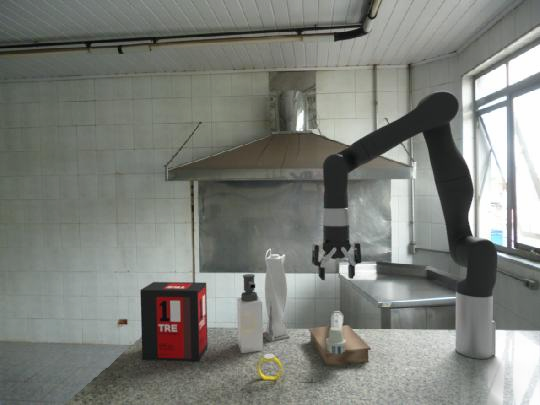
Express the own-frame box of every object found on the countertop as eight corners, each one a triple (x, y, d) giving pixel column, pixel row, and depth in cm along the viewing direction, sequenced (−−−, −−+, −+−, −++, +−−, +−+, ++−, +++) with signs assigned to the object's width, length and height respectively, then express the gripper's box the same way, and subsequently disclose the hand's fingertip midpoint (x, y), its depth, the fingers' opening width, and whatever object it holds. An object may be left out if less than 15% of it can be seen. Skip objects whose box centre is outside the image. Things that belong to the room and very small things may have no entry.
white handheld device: (345, 310, 119) (345, 328, 94) (345, 331, 118) (346, 354, 94) (328, 309, 120) (325, 327, 95) (329, 330, 119) (325, 353, 95)
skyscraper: (258, 332, 121) (257, 249, 120) (280, 328, 125) (279, 247, 124) (270, 342, 114) (269, 253, 113) (292, 337, 117) (291, 250, 116)
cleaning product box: (142, 359, 103) (140, 290, 102) (155, 346, 112) (153, 281, 111) (199, 361, 101) (197, 290, 101) (207, 347, 110) (206, 282, 110)
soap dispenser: (242, 356, 104) (241, 280, 103) (237, 344, 112) (236, 273, 112) (264, 353, 105) (263, 278, 105) (258, 341, 114) (257, 272, 113)
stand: (348, 337, 116) (348, 325, 116) (370, 362, 99) (370, 347, 99) (308, 340, 114) (308, 328, 114) (325, 366, 97) (324, 351, 97)
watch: (258, 382, 91) (255, 358, 90) (259, 376, 93) (257, 353, 93) (281, 381, 90) (279, 358, 90) (282, 375, 93) (280, 353, 92)
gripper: (315, 225, 101) (316, 283, 101) (364, 223, 103) (365, 280, 103) (309, 223, 108) (309, 277, 109) (354, 221, 110) (355, 274, 111)
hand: (336, 278), depth 106 cm, fingers open, 8 cm apart
